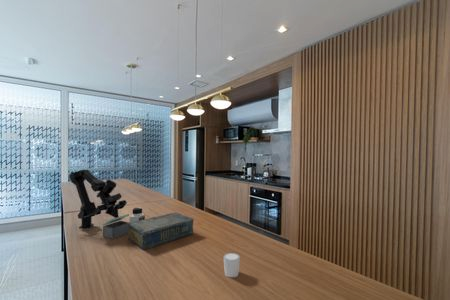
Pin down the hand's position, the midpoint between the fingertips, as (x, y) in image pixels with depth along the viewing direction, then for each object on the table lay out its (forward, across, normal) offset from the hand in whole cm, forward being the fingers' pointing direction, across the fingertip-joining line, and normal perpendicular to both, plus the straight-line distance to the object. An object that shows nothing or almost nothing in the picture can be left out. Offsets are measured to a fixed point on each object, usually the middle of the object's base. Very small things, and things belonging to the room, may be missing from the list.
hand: (117, 218), depth 131 cm
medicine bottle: (+6, +17, +9) cm, 20 cm away
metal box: (+26, +10, -11) cm, 30 cm away
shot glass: (+64, -7, -49) cm, 81 cm away
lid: (0, 0, +2) cm, 2 cm away
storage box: (+7, 0, +7) cm, 10 cm away
